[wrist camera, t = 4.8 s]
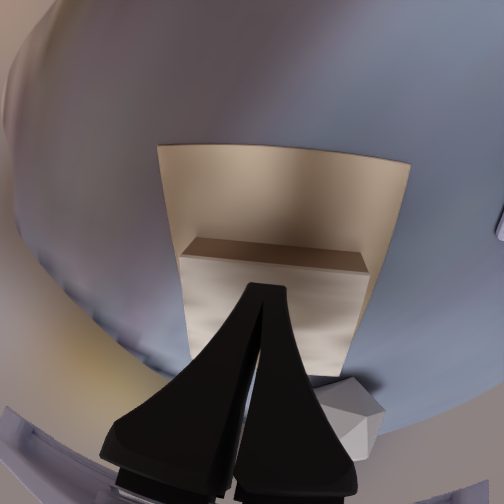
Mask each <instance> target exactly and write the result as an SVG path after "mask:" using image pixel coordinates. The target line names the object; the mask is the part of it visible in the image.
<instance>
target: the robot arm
mask: <svg viewBox="0 0 504 504" xmlns="http://www.w3.org/2000/svg"><path fill="white" fill-rule="evenodd" d="M496 236H497V238H498V239H499V240H500V241H504V212H503V215H502V218H501V220H500V223H499V225H498V227H497V230H496ZM259 352H260V356H259ZM258 356H259V362H258V367H257V372H256V377H255V382H254V387H253V392H252V396H251V401H250V406H249V410H248V414H247V419H246V423H245V427H244V432H243V436H242V440H241V444H240V448H239V452H238V456H237V459H236V455H237V449H238V444H239V437H240V432H241V427H242V422H243V416H244V411H245V405H246V400H247V396H248V392H249V389H250V385H251V381H252V378H253V374H254V371H255V367H256V363H257V360H258ZM99 456H100V458H101V459H104V460H106V461H108V462H110V463H112V464H114V465H116V466H119V467H120V469H119V472H115V471H113V470H111V469H108V468H106V467H104V466H102V465H100V464H98V463H96V462H94V461H92V460H90V459H88V458H86V457H84V456H82V455H81V454H79V453H76V452H75V451H73V450H71V449H69V448H68V447H66V446H64V445H63V444H61V443H60V442H58V441H56V440H54V438H53V437H51V436H50V435H48V434H47V433H45V432H43V431H42V430H41V429H39V428H38V427H36V426H35V425H33V424H32V423H30V422H28V421H27V420H25V419H24V418H23V417H21V416H20V415H19V414H17V413H16V412H15V411H13V410H12V409H11V408H9V407H8V406H5V409H4V411H3V413H2V415H1V417H0V461H1V462H2V463H3V464H4V465H5V466H6V467H7V468H8V469H9V470H10V471H11V472H12V473H13V474H14V475H15V476H16V477H17V478H18V480H19V481H20V482H21V483H22V484H23V485H24V486H25V487H26V488H27V489H28V490H29V491H30V492H31V493H32V494H33V495H34V496H35V497H36V498H37V499H38V500H39V501H40V502H41V503H42V504H149V503H146V502H144V501H142V500H138V499H136V498H133V497H129V496H125V495H122V494H120V493H119V491H118V489H119V490H121V491H124V492H126V493H128V494H131V495H133V496H136V497H138V498H141V499H144V500H147V501H149V502H152V503H155V504H216V503H215V500H216V497H218V498H222V499H224V496H225V492H226V491H227V490H228V489H230V488H231V484H232V478H233V476H234V477H235V479H236V480H237V486H236V490H235V494H234V500H235V501H239V502H242V504H344V497H346V496H352V495H355V494H356V493H357V489H358V484H357V475H356V470H355V467H354V463H353V461H352V459H351V457H350V456H349V454H348V453H347V451H346V450H345V448H344V447H343V445H342V443H341V442H340V440H339V439H338V437H337V435H336V433H335V432H334V430H333V428H332V426H331V425H330V423H329V421H328V419H327V417H326V415H325V413H324V411H323V409H322V407H321V405H320V403H319V401H318V399H317V397H316V395H315V392H314V390H313V388H312V385H311V383H310V381H309V378H308V376H307V373H306V371H305V368H304V365H303V362H302V359H301V356H300V353H299V350H298V347H297V344H296V340H295V336H294V333H293V329H292V325H291V320H290V315H289V310H288V303H287V288H286V287H285V286H284V285H274V284H265V283H255V282H250V283H248V284H247V286H246V288H245V290H244V292H243V294H242V295H241V297H240V299H239V301H238V302H237V304H236V305H235V307H234V309H233V310H232V312H231V313H230V315H229V316H228V317H227V319H226V320H225V322H224V323H223V325H222V326H221V327H220V329H219V330H218V331H217V333H216V334H215V335H214V336H213V338H212V339H211V340H210V341H209V343H208V344H207V345H206V346H205V347H204V348H203V350H202V351H201V352H200V353H199V354H198V355H197V356H196V357H195V358H194V359H193V360H192V361H191V363H190V364H189V365H188V366H187V367H186V368H184V369H183V370H182V371H181V372H180V373H179V374H178V375H177V376H176V377H175V378H174V379H173V380H172V381H170V382H169V383H168V384H167V385H166V386H165V387H163V388H162V389H161V390H160V391H158V392H157V393H156V394H154V395H153V396H152V397H151V398H149V399H148V400H147V401H145V402H144V403H143V404H141V405H140V406H138V407H137V408H135V409H134V410H132V411H130V412H129V413H128V414H126V415H124V416H123V417H121V418H119V419H118V420H116V421H115V422H114V424H113V425H112V427H111V429H110V430H109V432H108V434H107V436H106V438H105V441H104V444H103V446H102V449H101V451H100V454H99ZM235 461H236V463H235ZM410 504H489V480H485V481H482V482H479V483H477V484H474V485H472V486H469V487H466V488H463V489H459V490H456V491H452V492H449V493H446V494H443V495H439V496H436V497H432V498H431V499H427V500H423V501H419V502H415V503H410Z"/></svg>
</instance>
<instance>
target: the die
mask: <svg viewBox="0 0 504 504" xmlns="http://www.w3.org/2000/svg"><path fill="white" fill-rule="evenodd" d="M313 390H314V392H315V395H316V397H317V399H318V401H319V403H320V405H321V407H322V409H323V411H324V413H325V415H326V417H327V419H328V421H329V423H330V425H331V426H332V428H333V430H334V432H335V433H336V435H337V437H338V439H339V440H340V442H341V443H342V445H343V447H344V448H345V450H346V451H347V453H348V454H349V456H350V457H351V459H352V461H358V460H363V459H368V457H369V454H370V452H371V449H372V447H373V444H374V442H375V439H376V437H377V434H378V432H379V429H380V426H381V424H382V421H383V418H384V415H385V412H386V410H385V409H384V408H383V407H382V406H381V405H380V404H379V403H378V402H377V401H376V400H375V399H374V398H373V397H372V396H371V395H370V394H369V393H368V391H367V390H366V389H365V388H364V387H363V386H362V385H361V384H360V383H359V382H358V381H357V380H356V379H355V378H354V377H350V378H347V379H344V380H341V381H338V382H335V383H332V384H328V385H325V386H321V387H318V388H314V389H313Z"/></svg>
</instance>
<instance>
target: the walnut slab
mask: <svg viewBox="0 0 504 504" xmlns="http://www.w3.org/2000/svg"><path fill="white" fill-rule="evenodd" d="M179 264H180V275H181V284H182V293H183V302H184V310H185V318H186V325H187V333H188V340H189V346H190V353H191V359H194V358H195V357H196V356H197V355H198V354H199V353H200V352H201V351H202V350H203V348H204V347H205V346H206V345H207V344H208V343H209V341H210V340H211V339H212V338H213V336H214V335H215V334H216V333H217V331H218V330H219V329H220V327H221V326H222V325H223V323H224V322H225V320H226V319H227V317H228V316H229V315H230V313H231V312H232V310H233V309H234V307H235V305H236V304H237V302H238V301H239V299H240V297H241V295H242V294H243V292H244V290H245V288H246V286H247V284H248V283H250V282H255V283H265V284H274V285H284V286H285V287H286V288H287V303H288V310H289V315H290V320H291V325H292V329H293V333H294V336H295V340H296V344H297V347H298V350H299V353H300V356H301V359H302V362H303V365H304V368H305V371H306V373H307V375H320V376H339V375H340V372H341V369H342V367H343V364H344V361H345V358H346V355H347V352H348V350H349V347H350V344H351V341H352V337H353V334H354V331H355V328H356V325H357V322H358V318H359V315H360V311H361V308H362V305H363V301H364V297H365V294H366V290H367V286H368V282H369V278H370V274H369V272H368V269H367V267H366V265H365V262H364V260H363V257H362V255H361V253H358V252H348V251H338V250H328V249H318V248H308V247H298V246H287V245H277V244H266V243H255V242H245V241H234V240H223V239H211V238H200V237H195V239H194V240H193V241H192V242H191V243H190V244H189V246H188V247H187V248H186V249H185V250H184V251H183V253H182V254H181V255H180V256H179ZM259 356H260V352H259ZM259 356H258V360H257V363H256V367H255V369H257V367H258V362H259Z"/></svg>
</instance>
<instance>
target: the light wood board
mask: <svg viewBox="0 0 504 504" xmlns="http://www.w3.org/2000/svg"><path fill="white" fill-rule="evenodd" d="M157 150H158V158H159V165H160V172H161V178H162V185H163V191H164V197H165V203H166V209H167V215H168V220H169V226H170V231H171V236H172V241H173V246H174V251H175V256H176V261H177V265H178V270H179V275H180V264H179V256H180V255H181V254H182V253H183V251H184V250H185V249H186V248H187V247H188V246H189V244H190V243H191V242H192V241H193V240H194V239H195V237H200V238H211V239H223V240H234V241H245V242H255V243H266V244H277V245H287V246H298V247H308V248H318V249H328V250H338V251H348V252H358V253H361V255H362V257H363V260H364V262H365V265H366V267H367V269H368V272H369V274H370V278H369V282H368V286H367V290H366V294H365V297H364V301H363V305H362V308H361V311H360V315H359V318H358V322H357V325H356V328H355V331H354V334H353V337H352V340H353V338H354V336H355V333H356V331H357V329H358V327H359V324H360V322H361V320H362V317H363V315H364V312H365V310H366V308H367V305H368V303H369V300H370V298H371V295H372V292H373V290H374V287H375V285H376V282H377V279H378V277H379V274H380V271H381V268H382V265H383V262H384V260H385V257H386V254H387V251H388V248H389V244H390V241H391V238H392V235H393V232H394V228H395V225H396V222H397V218H398V215H399V211H400V208H401V204H402V200H403V196H404V192H405V188H406V184H407V180H408V176H409V171H410V167H411V165H410V164H409V163H404V162H399V161H394V160H388V159H383V158H377V157H371V156H364V155H358V154H351V153H343V152H335V151H327V150H318V149H308V148H296V147H284V146H268V145H246V144H172V145H158V146H157ZM180 279H181V275H180ZM351 342H352V341H351Z"/></svg>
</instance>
